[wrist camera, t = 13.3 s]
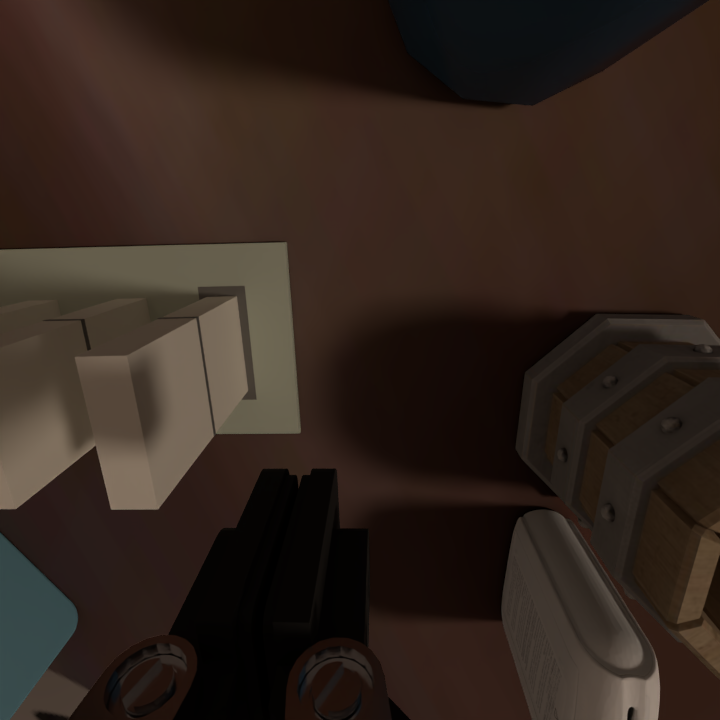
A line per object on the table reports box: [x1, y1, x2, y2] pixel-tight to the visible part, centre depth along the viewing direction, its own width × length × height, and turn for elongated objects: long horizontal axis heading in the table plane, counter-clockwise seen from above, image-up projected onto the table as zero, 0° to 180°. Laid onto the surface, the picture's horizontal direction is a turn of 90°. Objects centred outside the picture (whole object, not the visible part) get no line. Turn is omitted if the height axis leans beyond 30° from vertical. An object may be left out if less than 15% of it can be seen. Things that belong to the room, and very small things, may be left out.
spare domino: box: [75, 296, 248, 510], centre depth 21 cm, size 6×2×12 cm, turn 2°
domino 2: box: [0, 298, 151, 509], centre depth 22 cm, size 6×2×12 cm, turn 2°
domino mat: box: [0, 242, 301, 434], centre depth 28 cm, size 12×32×1 cm, turn 92°
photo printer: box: [501, 509, 660, 720], centre depth 26 cm, size 10×4×12 cm, turn 179°
